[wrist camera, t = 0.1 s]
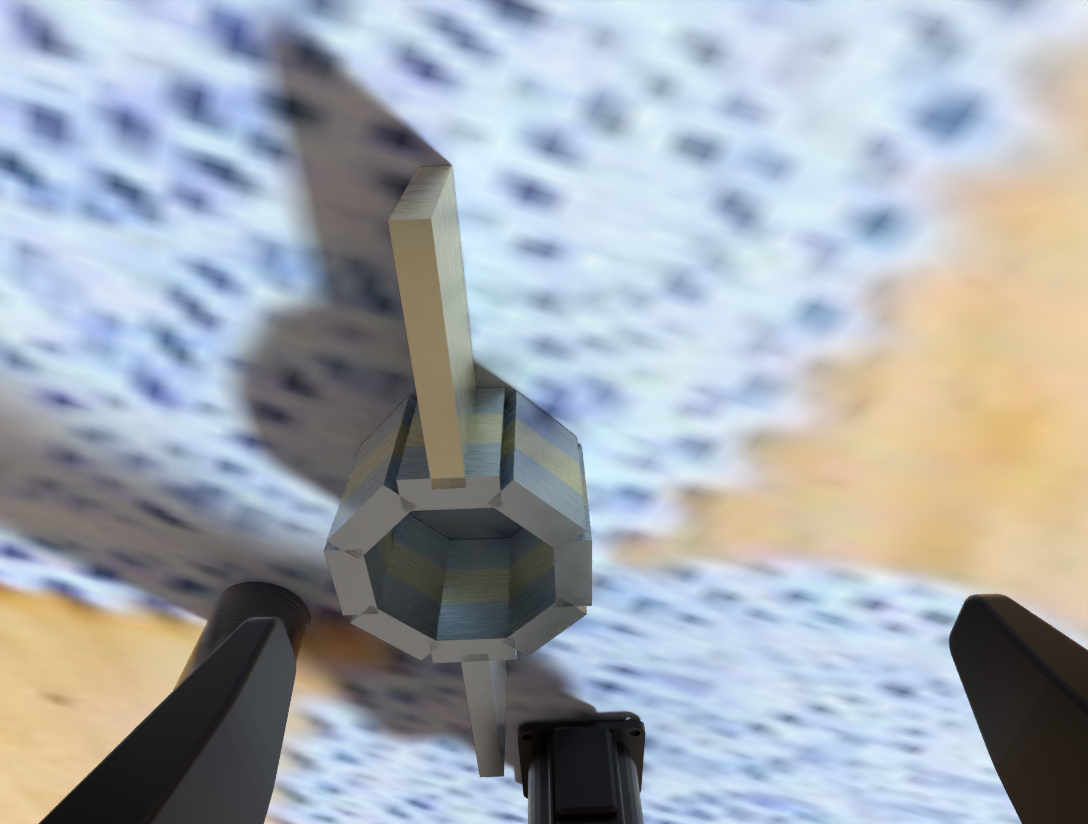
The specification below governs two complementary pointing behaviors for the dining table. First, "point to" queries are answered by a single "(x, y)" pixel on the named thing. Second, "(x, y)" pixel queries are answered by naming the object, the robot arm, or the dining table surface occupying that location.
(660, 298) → the dining table surface
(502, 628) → the hinge
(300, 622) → the hinge pin
